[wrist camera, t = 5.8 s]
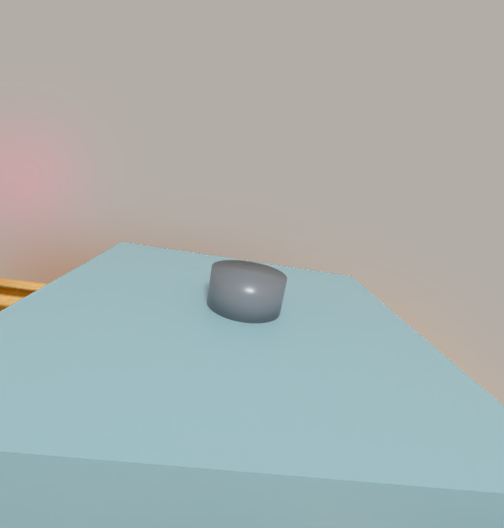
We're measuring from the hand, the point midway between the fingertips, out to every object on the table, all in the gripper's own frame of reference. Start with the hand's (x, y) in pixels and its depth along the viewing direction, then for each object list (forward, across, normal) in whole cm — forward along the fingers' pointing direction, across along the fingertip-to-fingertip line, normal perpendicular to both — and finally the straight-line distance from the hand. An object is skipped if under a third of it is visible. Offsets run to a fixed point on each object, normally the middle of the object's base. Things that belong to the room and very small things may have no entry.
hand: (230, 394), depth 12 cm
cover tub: (-1, 0, -6) cm, 6 cm away
